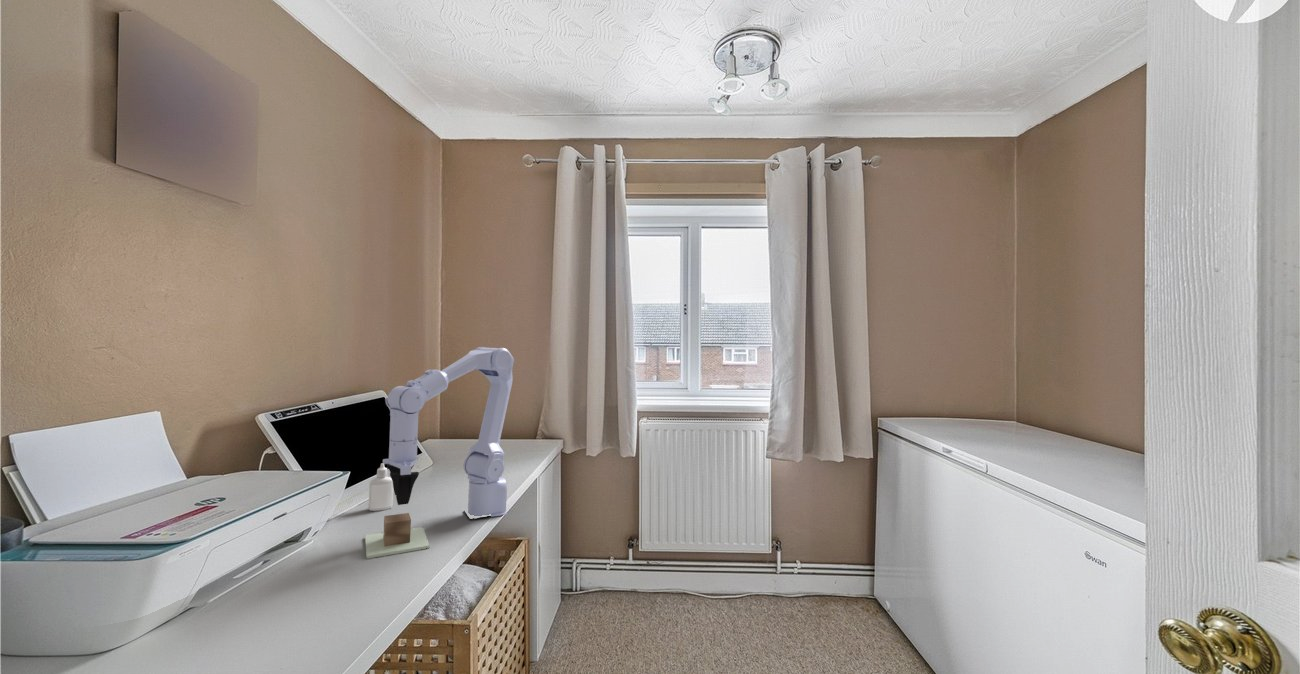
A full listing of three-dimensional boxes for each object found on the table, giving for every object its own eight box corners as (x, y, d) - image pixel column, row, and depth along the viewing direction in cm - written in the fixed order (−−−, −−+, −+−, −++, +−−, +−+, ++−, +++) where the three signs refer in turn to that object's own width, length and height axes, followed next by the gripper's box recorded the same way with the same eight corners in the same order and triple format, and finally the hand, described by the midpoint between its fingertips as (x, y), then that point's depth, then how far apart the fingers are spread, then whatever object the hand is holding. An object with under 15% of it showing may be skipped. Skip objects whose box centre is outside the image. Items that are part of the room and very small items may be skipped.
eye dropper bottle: (387, 511, 130) (389, 465, 130) (365, 511, 129) (367, 465, 129) (395, 506, 134) (396, 461, 134) (373, 505, 134) (375, 461, 134)
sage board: (422, 529, 119) (422, 526, 119) (429, 548, 108) (429, 545, 108) (365, 538, 112) (365, 535, 112) (366, 558, 102) (366, 555, 102)
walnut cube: (407, 534, 114) (408, 512, 114) (410, 542, 110) (410, 519, 110) (383, 538, 111) (384, 516, 111) (384, 546, 107) (385, 523, 107)
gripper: (381, 434, 116) (379, 492, 116) (385, 447, 104) (383, 511, 104) (414, 432, 120) (412, 488, 120) (422, 444, 108) (420, 506, 108)
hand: (401, 498), depth 112 cm, fingers open, 7 cm apart
